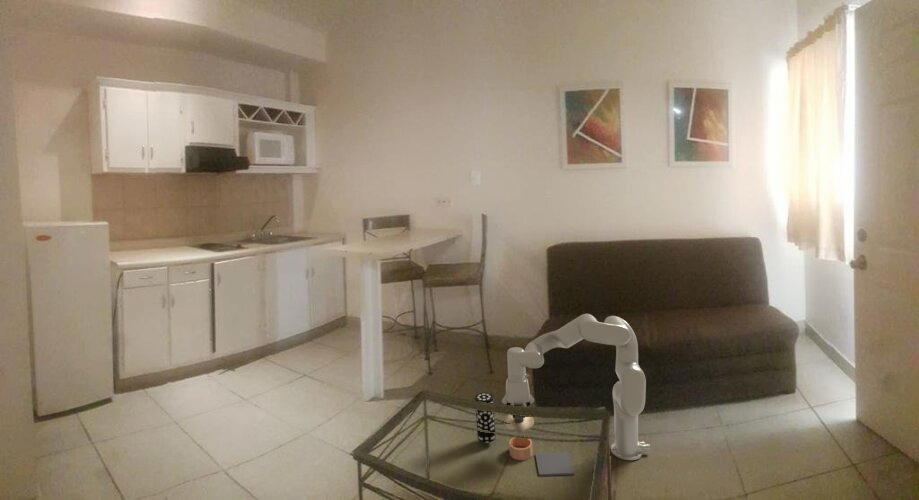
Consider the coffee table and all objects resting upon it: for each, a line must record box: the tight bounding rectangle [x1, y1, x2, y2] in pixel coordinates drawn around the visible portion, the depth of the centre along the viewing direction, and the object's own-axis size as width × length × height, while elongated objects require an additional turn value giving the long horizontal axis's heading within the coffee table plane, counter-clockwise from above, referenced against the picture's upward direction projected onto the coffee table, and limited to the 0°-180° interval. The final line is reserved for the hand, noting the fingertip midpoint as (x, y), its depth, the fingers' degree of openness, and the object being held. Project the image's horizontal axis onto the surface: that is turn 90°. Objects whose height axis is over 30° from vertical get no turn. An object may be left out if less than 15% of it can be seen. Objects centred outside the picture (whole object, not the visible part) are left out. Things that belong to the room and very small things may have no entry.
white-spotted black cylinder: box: [474, 392, 497, 444], centre depth 203 cm, size 8×8×20 cm
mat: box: [534, 451, 575, 477], centre depth 187 cm, size 14×14×1 cm
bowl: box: [508, 436, 534, 461], centre depth 196 cm, size 10×10×5 cm
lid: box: [503, 403, 535, 432], centre depth 193 cm, size 13×13×8 cm
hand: (518, 416), depth 193 cm, fingers closed on lid, 4 cm apart
